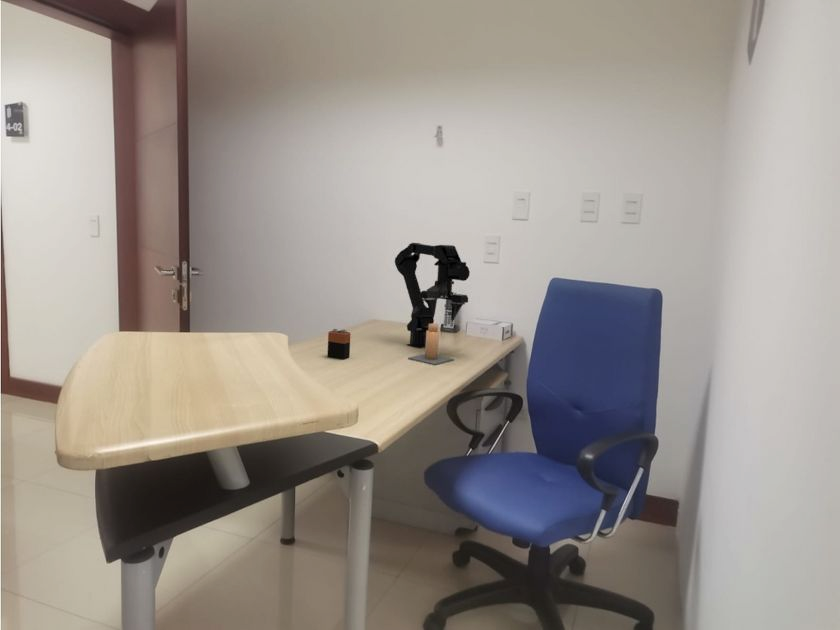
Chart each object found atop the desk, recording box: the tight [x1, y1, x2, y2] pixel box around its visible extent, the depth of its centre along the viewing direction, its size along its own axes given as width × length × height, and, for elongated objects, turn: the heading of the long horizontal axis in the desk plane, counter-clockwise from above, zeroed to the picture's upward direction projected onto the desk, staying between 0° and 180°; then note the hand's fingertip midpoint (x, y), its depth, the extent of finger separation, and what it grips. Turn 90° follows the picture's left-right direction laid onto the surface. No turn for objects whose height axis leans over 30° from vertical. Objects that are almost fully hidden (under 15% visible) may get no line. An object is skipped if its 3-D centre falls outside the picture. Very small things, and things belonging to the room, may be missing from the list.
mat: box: [407, 353, 455, 366], centre depth 207 cm, size 12×12×1 cm
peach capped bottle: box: [424, 323, 440, 360], centre depth 206 cm, size 5×5×12 cm
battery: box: [326, 328, 351, 360], centre depth 201 cm, size 4×7×10 cm, turn 68°
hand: (442, 319), depth 218 cm, fingers open, 9 cm apart
